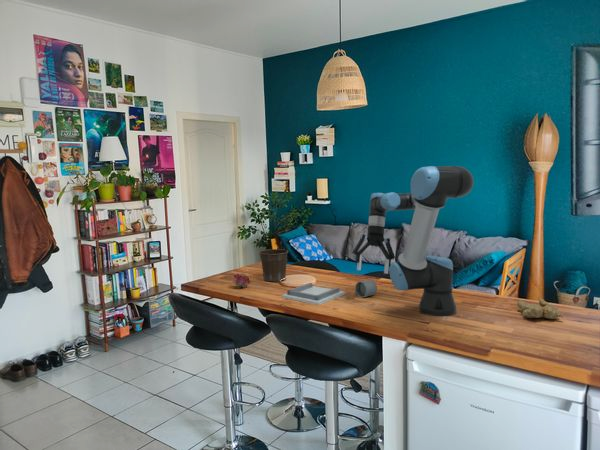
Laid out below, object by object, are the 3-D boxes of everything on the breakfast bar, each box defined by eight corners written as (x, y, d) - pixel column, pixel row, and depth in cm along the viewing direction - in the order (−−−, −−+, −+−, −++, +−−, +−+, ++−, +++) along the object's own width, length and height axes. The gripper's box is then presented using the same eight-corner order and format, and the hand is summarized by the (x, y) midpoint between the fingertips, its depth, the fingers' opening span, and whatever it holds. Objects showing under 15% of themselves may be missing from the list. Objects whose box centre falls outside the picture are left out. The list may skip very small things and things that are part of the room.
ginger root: (565, 323, 169) (560, 302, 169) (519, 327, 176) (514, 307, 176) (562, 312, 183) (558, 293, 183) (520, 316, 190) (515, 298, 190)
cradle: (345, 294, 219) (345, 287, 219) (318, 305, 202) (318, 298, 202) (309, 287, 233) (309, 281, 233) (281, 297, 216) (281, 290, 215)
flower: (245, 287, 228) (250, 273, 232) (228, 284, 229) (233, 269, 233) (248, 294, 237) (252, 280, 240) (231, 290, 238) (236, 276, 241)
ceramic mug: (378, 296, 215) (378, 280, 214) (366, 299, 210) (365, 283, 209) (362, 291, 223) (362, 276, 222) (350, 294, 218) (350, 279, 218)
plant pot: (254, 279, 252) (253, 251, 250) (276, 275, 263) (275, 247, 261) (272, 284, 240) (271, 255, 238) (294, 279, 251) (294, 251, 249)
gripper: (396, 231, 216) (393, 275, 212) (348, 223, 210) (344, 268, 206) (404, 229, 208) (401, 274, 205) (354, 221, 202) (350, 268, 199)
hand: (372, 271), depth 206 cm, fingers open, 13 cm apart
